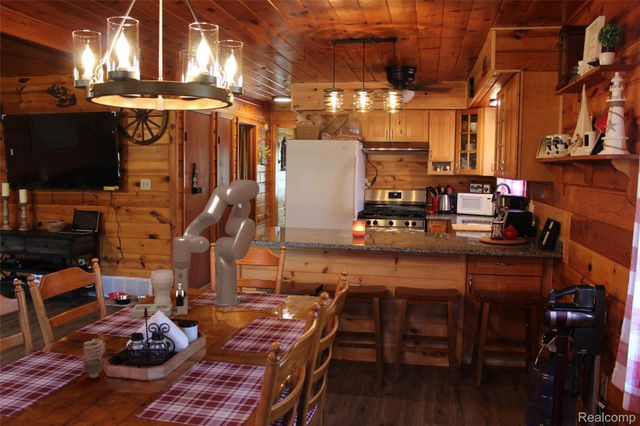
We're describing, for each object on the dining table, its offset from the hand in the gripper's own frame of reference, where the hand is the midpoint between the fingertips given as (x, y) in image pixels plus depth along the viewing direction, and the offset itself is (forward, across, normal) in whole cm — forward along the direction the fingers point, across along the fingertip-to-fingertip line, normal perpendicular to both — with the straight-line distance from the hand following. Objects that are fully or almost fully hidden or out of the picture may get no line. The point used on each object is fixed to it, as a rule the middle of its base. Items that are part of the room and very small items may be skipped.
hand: (180, 303), depth 229 cm
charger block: (+4, +1, -1) cm, 5 cm away
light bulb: (+7, -69, +19) cm, 72 cm away
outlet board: (+5, +3, +12) cm, 13 cm away
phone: (+5, +7, 0) cm, 9 cm away
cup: (+4, +21, +10) cm, 24 cm away
